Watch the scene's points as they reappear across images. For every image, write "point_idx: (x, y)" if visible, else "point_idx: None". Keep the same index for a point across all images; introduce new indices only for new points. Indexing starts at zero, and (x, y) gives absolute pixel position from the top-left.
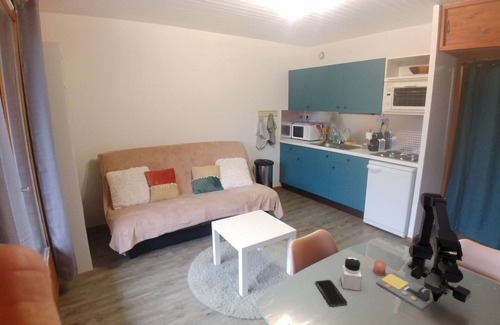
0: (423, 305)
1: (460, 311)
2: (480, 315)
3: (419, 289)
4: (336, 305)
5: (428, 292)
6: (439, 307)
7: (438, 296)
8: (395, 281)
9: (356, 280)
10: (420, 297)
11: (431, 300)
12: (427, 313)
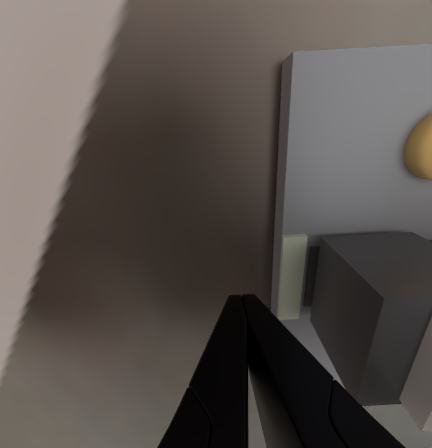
0: (307, 146)
1: (105, 367)
2: (35, 421)
3: None
4: None
5: (371, 365)
6: (204, 288)
7: (204, 401)
8: None
9: None
10: (386, 238)
11: (281, 300)
12: (223, 88)
